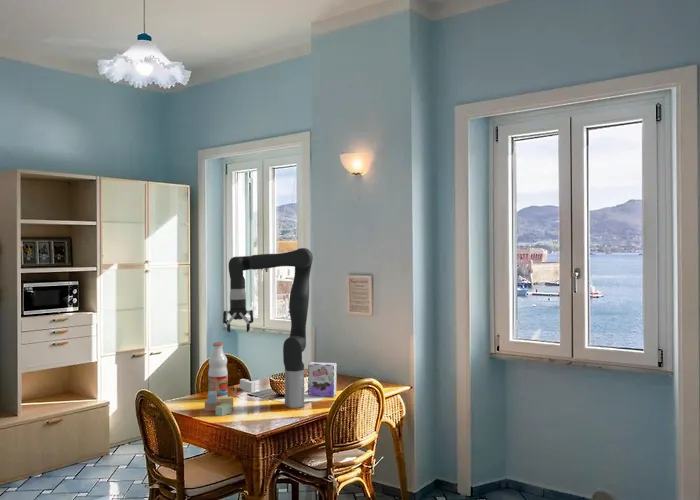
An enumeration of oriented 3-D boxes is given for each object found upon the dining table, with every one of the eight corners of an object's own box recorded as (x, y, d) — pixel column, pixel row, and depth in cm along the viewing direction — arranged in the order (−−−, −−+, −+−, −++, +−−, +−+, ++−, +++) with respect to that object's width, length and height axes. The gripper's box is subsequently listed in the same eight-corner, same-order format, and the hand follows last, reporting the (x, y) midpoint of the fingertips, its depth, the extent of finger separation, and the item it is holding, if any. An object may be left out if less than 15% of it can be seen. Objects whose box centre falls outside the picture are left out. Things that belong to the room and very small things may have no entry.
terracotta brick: (220, 408, 290) (220, 399, 290) (220, 410, 287) (220, 401, 287) (204, 409, 288) (204, 400, 288) (204, 411, 285) (204, 402, 285)
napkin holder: (258, 393, 321) (258, 382, 321) (236, 394, 320) (236, 383, 320) (258, 387, 336) (258, 376, 336) (237, 387, 335) (237, 377, 335)
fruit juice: (211, 396, 312) (211, 341, 312) (229, 397, 311) (229, 341, 311) (205, 401, 303) (205, 344, 303) (224, 401, 302) (224, 344, 302)
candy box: (307, 395, 314) (307, 363, 314) (311, 393, 320) (311, 361, 320) (333, 397, 311) (333, 364, 311) (336, 394, 317) (336, 362, 317)
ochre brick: (231, 404, 297) (231, 396, 297) (233, 406, 294) (233, 398, 294) (216, 406, 294) (216, 397, 294) (217, 407, 291) (217, 399, 291)
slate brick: (209, 399, 290) (209, 391, 290) (216, 399, 291) (216, 391, 291) (207, 403, 283) (207, 394, 283) (215, 403, 284) (215, 394, 284)
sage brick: (224, 411, 284) (224, 403, 284) (231, 412, 283) (231, 403, 283) (215, 415, 278) (215, 406, 278) (222, 416, 276) (222, 407, 276)
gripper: (253, 297, 300) (253, 330, 300) (223, 298, 299) (224, 331, 299) (252, 298, 292) (253, 332, 292) (222, 299, 291) (222, 333, 291)
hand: (238, 332), depth 295 cm, fingers open, 8 cm apart
